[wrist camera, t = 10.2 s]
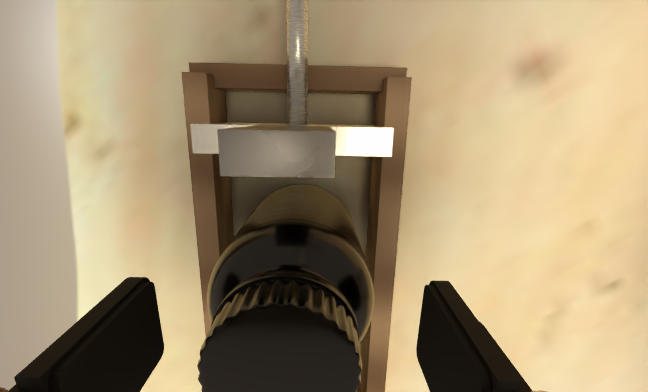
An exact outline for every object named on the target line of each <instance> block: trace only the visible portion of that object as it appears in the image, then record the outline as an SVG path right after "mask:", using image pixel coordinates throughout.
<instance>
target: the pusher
mask: <svg viewBox="0 0 648 392" xmlns="http://www.w3.org/2000/svg"><path fill="white" fill-rule="evenodd" d="M286 12H287V109H288V123H247V122H224V123H200V124H190V127H191V138H192V149H193V153H207V154H219V163H220V176H233V177H298V178H335V156H383V157H392V144H393V130H394V128H391V127H383V126H375V125H349V124H307V94H308V0H286Z"/></svg>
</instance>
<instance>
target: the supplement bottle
mask: <svg viewBox="0 0 648 392" xmlns="http://www.w3.org/2000/svg"><path fill="white" fill-rule="evenodd" d="M207 306H208V313H209V318H210V321H211V327H210V329H209V331H208V333H207V336H206V339H205V341H204V343H203V345H202V347H201V350H200V359H199V362H198V370H199V372H200V374H199V378H198V380H199V382H200V384H201V385H202V392H357V388H358V387H359V385H360V384H361V376H360V374H361V371H362V361H361V356H360V346H359V344H360V342H361V341H362V339H363V338H364V336H365V334H366V332H367V330H368V327H369V325H370V322H371V319H372V315H373V309H374V289H373V283H372V279H371V275H370V272H369V268H368V266H367V263H366V260H365V257H364V254H363V251H362V248H361V245H360V242H359V239H358V236H357V234H356V231H355V228H354V225H353V222H352V220H351V217H350V215H349V213H348V211H347V209H346V208H345V206H344V205H343V204H342V203H341V201H340V200H339V199H338V198H337V197H335V196H334V195H333V194H331V193H330V192H328V191H326V190H324V189H322V188H319V187H316V186H312V185H305V184H297V185H290V186H286V187H283V188H281V189H278V190H276V191H274V192H273V193H271V194H270V195H269V196H267V197H266V198H265V199H264V200H263V201H262V202H261V203H260V204H259V205H258V207H257V208H256V209H255V210H254V212H253V213H252V214H251V216H250V217H249V218H248V220H247V221H246V222H245V224H244V225H243V226H242V228H241V229H240V230H239V232H238V233H237V234H236V236H235V237H234V238H233V240H232V241H231V242H230V244H229V245H228V246H227V248H226V249H225V250H224V252H223V253H222V255H221V256H220V258H219V260H218V261H217V263H216V265H215V267H214V269H213V271H212V274H211V277H210V281H209V285H208V292H207Z"/></svg>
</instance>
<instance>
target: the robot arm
mask: <svg viewBox="0 0 648 392" xmlns="http://www.w3.org/2000/svg"><path fill="white" fill-rule="evenodd" d="M416 350H417V358H418V361H419V364H420V366H421V369H422V372H423V374H424V377H425V379H426V382H427V385H428V387H429V390H430V392H546V391H532V390H531V388H530V387H529V386H528V384H527V383H526V382H525V380H524V379H523V378H522V376H521V375H520V374H519V372H518V371H517V370H516V368H515V367H514V366H513V364H512V363H511V362H510V360H509V359H508V358H507V356H506V355H505V353H504V352H503V351H502V349H501V348H500V347H499V345H498V344H497V343H496V341H495V340H494V339H493V337H492V336H491V335H490V333H489V332H488V331H487V329H486V328H485V327H484V325H483V324H482V323H481V322H479V321H478V320H477V319H476V317H475V316H474V315H473V313H472V312H471V310H470V309H469V308H468V306H467V305H466V304H465V302H464V301H463V300H462V298H461V297H460V296H459V294H458V293H457V291H456V290H455V289H454V287H453V286H452V285H451V283H450V282H449V281H431V282H430V284H429V285H426V286H425V288H424V294H423V302H422V310H421V317H420V325H419V333H418V340H417V349H416ZM163 351H164V343H163V337H162V330H161V324H160V318H159V311H158V305H157V299H156V292H155V286H154V283H153V282H150V281H149V279H148V278H146V277H129V278H127V279H125V280H124V281H123V282H122V283H121V284H120V285H118V286H117V287H116V288H115V289H114V290H113V291H112V292H110V293H109V294H108V295H107V296H106V297H105V298H104V299H103V300H101V301H100V302H99V303H98V304H97V305H96V306H95V307H93V308H92V309H91V310H90V311H89V312H88V313H87V314H86V315H84V316H83V317H82V318H81V319H80V320H79V321H78V322H76V323H75V324H74V325H73V326H72V327H71V328H70V329H68V330H67V331H66V332H65V333H64V334H63V335H62V336H61V337H60V338H58V339H57V340H56V341H55V342H54V343H53V344H52V345H50V346H49V348H47V349H46V350H45V351H44V352H42V353H41V354H40V355H39V356H38V357H37V358H36V359H35V360H33V361H32V362H31V363H30V364H29V365H28V366H27V367H26V368H24V369H23V370H22V371H21V372H20V373H19V374H17V375H16V376H15V381H16V385H15V386H14V387H13V388H11V389H10V390H9V391H8V390H6V389H5V388H0V392H140V390H141V389H142V387H143V386H144V384H145V382H146V381H147V379H148V378H149V376H150V375H151V373H152V371H153V370H154V368H155V367H156V365H157V364H158V362H159V360H160V359H161V357H162V355H163Z"/></svg>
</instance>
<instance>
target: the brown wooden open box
mask: <svg viewBox="0 0 648 392" xmlns="http://www.w3.org/2000/svg"><path fill="white" fill-rule="evenodd" d="M189 69H190V72H182V81H183V92H184V103H185V114H186V125H187V136H188V147H189V158H190V169H191V180H192V191H193V202H194V213H195V223H196V234H197V245H198V256H199V267H200V278H201V289H202V300H203V311H204V322H205V333H206V336H207V333H208V331H209V329H210V327H211V321H210V318H209V313H208V306H207V292H208V285H209V281H210V277H211V274H212V271H213V269H214V267H215V265H216V263H217V261H218V260H219V258H220V256H221V255H222V253H223V252H224V250H225V249H226V248H227V246H228V245H229V244H230V242H231V241H232V240H233V238H234V233H233V216H232V199H231V182H230V176H220V163H219V154H207V153H193V149H192V138H191V127H190V124H200V123H224V122H227V114H226V97H225V91H253V92H287V65H268V64H227V63H189ZM406 73H407V68H392V67H351V66H309V65H308V93H344V94H376V100H375V117H374V125H375V126H383V127H391V128H394V130H393V144H392V157H383V156H372V168H371V185H370V202H369V219H368V236H367V253H366V263H367V266H368V268H369V272H370V275H371V279H372V283H373V289H374V309H373V315H372V319H371V322H370V325H369V327H368V330H367V332H366V334H365V336H364V338H363V339H362V341H361V354H360V356H361V361H362V371H361V374H360V376H361V384H360V385H359V387H358V388H357V392H385V381H386V370H387V358H388V346H389V335H390V323H391V311H392V300H393V288H394V276H395V265H396V253H397V241H398V230H399V218H400V206H401V195H402V183H403V171H404V160H405V148H406V136H407V125H408V113H409V102H410V90H411V78H412V77H406Z"/></svg>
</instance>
